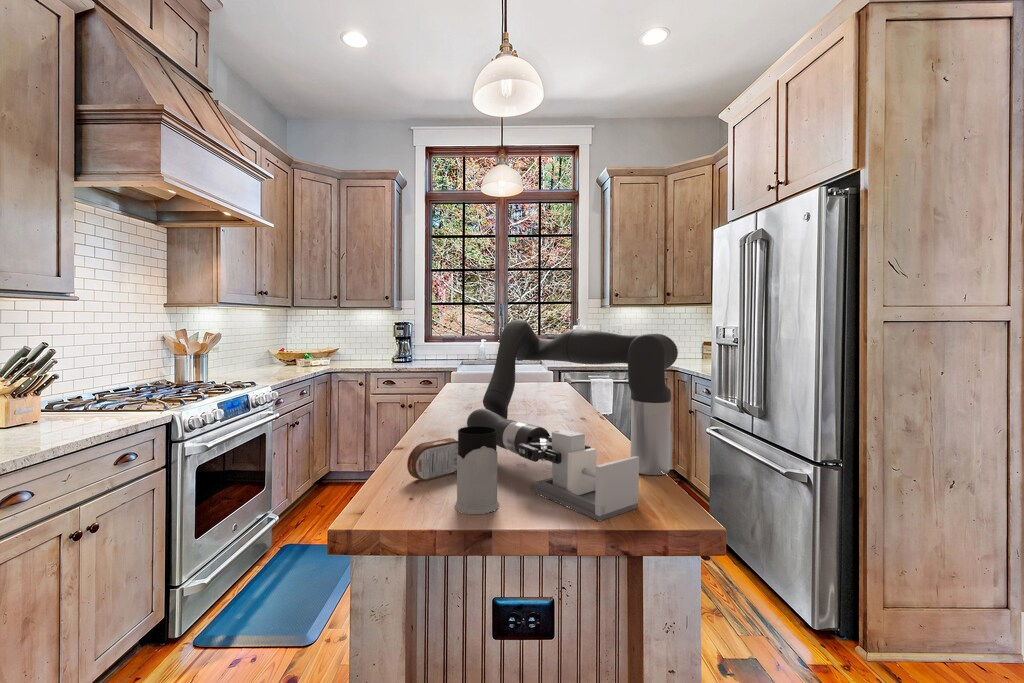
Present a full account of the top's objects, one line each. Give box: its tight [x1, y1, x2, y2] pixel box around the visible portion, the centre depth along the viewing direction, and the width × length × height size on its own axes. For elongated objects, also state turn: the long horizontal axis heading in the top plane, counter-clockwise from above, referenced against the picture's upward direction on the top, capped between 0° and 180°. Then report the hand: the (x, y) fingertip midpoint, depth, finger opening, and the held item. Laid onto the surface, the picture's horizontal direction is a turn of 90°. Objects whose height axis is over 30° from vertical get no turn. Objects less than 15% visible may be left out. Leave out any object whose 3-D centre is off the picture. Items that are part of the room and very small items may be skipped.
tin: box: [406, 437, 458, 482], centre depth 115 cm, size 15×3×8 cm, turn 134°
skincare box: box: [551, 428, 586, 491], centre depth 104 cm, size 6×4×12 cm
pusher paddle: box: [567, 447, 597, 495], centre depth 99 cm, size 7×6×9 cm
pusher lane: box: [534, 456, 640, 522], centre depth 100 cm, size 11×18×10 cm, turn 37°
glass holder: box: [454, 426, 500, 515], centre depth 99 cm, size 9×14×15 cm, turn 22°
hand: (575, 455), depth 102 cm, fingers open, 8 cm apart
